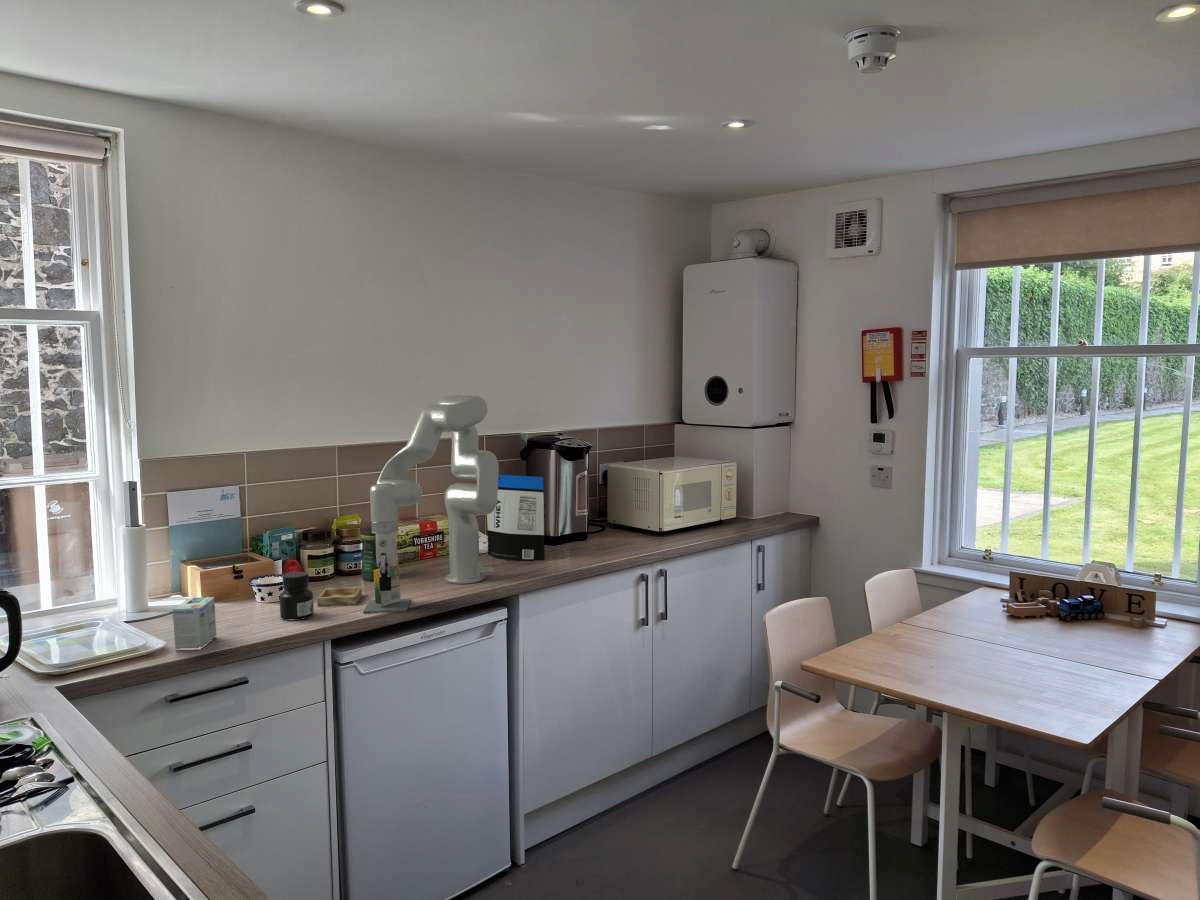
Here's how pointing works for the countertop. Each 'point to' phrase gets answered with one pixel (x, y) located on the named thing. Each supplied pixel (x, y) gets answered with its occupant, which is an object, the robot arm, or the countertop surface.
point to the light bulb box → (194, 622)
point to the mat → (388, 606)
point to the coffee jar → (368, 552)
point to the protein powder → (517, 519)
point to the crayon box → (394, 593)
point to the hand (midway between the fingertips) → (387, 586)
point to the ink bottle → (296, 596)
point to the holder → (339, 596)
